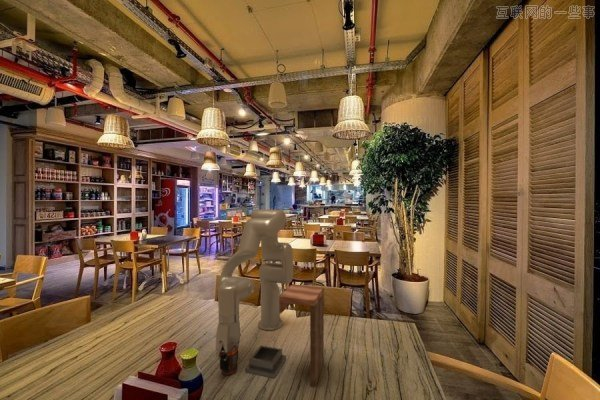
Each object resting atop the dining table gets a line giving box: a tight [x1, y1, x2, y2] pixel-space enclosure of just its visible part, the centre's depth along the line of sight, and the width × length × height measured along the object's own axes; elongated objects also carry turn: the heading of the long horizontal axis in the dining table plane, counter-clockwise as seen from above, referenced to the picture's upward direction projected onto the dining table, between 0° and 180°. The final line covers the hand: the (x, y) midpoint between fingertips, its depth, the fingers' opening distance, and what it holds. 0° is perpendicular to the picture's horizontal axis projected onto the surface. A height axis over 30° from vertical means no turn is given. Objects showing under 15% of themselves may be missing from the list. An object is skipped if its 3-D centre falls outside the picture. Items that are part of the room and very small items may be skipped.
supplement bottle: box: [220, 345, 238, 376], centre depth 102 cm, size 6×6×11 cm
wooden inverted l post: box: [279, 283, 325, 388], centre depth 102 cm, size 14×13×30 cm
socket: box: [244, 345, 287, 379], centre depth 105 cm, size 12×12×4 cm
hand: (229, 363), depth 102 cm, fingers closed on supplement bottle, 6 cm apart
